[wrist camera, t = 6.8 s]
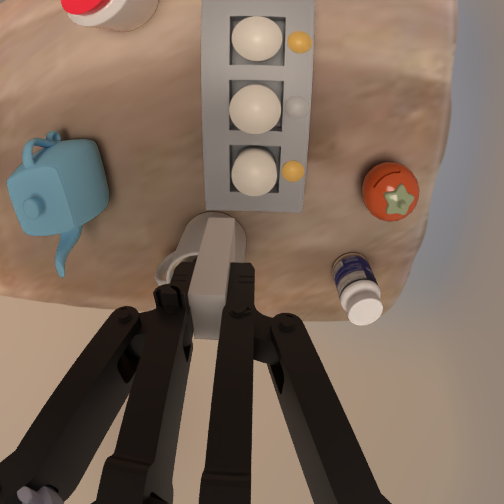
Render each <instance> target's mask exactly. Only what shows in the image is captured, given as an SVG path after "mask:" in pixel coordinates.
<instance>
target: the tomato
mask: <svg viewBox="0 0 504 504" xmlns="http://www.w3.org/2000/svg"><path fill="white" fill-rule="evenodd" d="M362 197H363V200H364V203H365V206H366V208H367V209H368V210H369V211H370V213H371V214H372V215H373V216H375V217H377V218H378V219H380V220H384V221H389V222H391V221H398V220H401V219H403V218H405V217H406V216H408V215H409V214H410V213H411V212H412V211H413V209H414V208H415V207H416V204H417V202H418V199H419V186H418V181H417V179H416V178H415V176H414V175H413V173H412V172H411V171H410V170H409V169H408V168H406V167H405V166H403V165H401V164H398V163H395V162H385V163H380V164H378V165H375V166H374V167H373V168H372V169H370V170H369V171H368V173H367V174H366V176H365V178H364V181H363V185H362Z"/></svg>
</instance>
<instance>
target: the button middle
mask: <svg viewBox="0 0 504 504" xmlns="http://www.w3.org/2000/svg"><path fill="white" fill-rule="evenodd" d="M229 113H230V117H231V120H232V122H233V123H234V125H235V126H236V127H237V128H239V129H240V130H242V131H243V132H246V133H249V134H262V133H265V132H267V131H269V130H271V129H272V128H273V127H274V126H275V125H276V124H277V122H278V120H279V118H280V115H281V105H280V102H279V99H278V98H277V96H276V94H275V93H274V91H273V90H272V89H270V88H269V87H267V86H265V85H262V84H250V85H247V86H245V87H243V88H242V89H240V90H239V91H238V92H237V93H236V94H235V95H234V96H233V98H232V100H231V102H230V106H229Z"/></svg>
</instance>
